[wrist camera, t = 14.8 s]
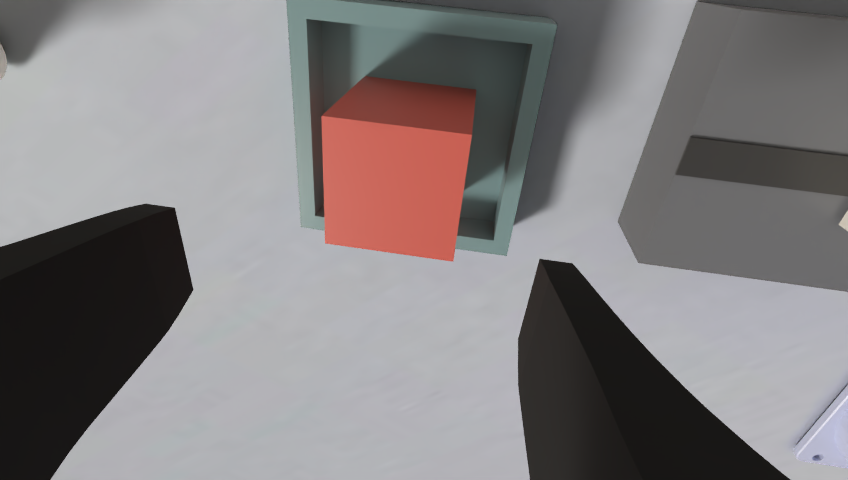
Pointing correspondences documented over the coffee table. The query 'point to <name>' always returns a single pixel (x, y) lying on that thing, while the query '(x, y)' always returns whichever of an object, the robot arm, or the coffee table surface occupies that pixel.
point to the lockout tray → (432, 64)
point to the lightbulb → (2, 62)
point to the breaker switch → (844, 222)
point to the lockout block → (397, 166)
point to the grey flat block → (749, 151)
